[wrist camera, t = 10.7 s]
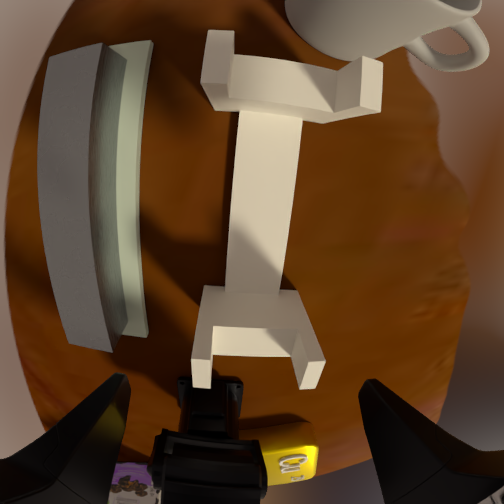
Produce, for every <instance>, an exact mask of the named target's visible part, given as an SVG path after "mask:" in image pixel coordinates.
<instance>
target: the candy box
mask: <svg viewBox="0 0 504 504" xmlns="http://www.w3.org/2000/svg"><path fill="white" fill-rule="evenodd" d="M147 465H148V463H131V462H116V466H115V471H114V475H113V480H112V484H111V489H110V494H109V499H108V504H161V490H156V489H154V488H153V482H152V477H151V476H150V475H149V474H148V473H147Z"/></svg>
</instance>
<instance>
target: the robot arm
mask: <svg viewBox="0 0 504 504" xmlns="http://www.w3.org/2000/svg"><path fill="white" fill-rule="evenodd" d="M181 381H182V382H181ZM238 385H239V386H238ZM177 386H178V393H179V400H180V406H181V415H180V422H179V430H178V432H175V431H169V430H168V429H164V428H162V432H161V435H157V436H155V441H154V447H153V451H152V454H151V457H150V459H149V462H148V465H147V473H148V474H149V475H150V476H151V477H152V482H153V488H154V489H156V490H161V504H260V499H263V498H264V497H265V495H266V492H267V486H268V475H267V469H266V465H265V462H264V458H263V455H262V451H261V447H260V443H259V440H255V439H252V440H239V425H238V418H239V417H240V410H241V403H242V395H243V382H241V381H230V380H212V379H211V387H210V389H208V388H196V387H193V380H192V378H187V377H179V378H178V380H177ZM130 395H131V388H130V384H129V381H128V378H127V375H126V374H122V373H114V374H113V375H112V376H111V377H110V378H108V379H107V380H106V381H105V382H104V383H103V384H101V385H100V386H99V387H98V388H97V389H96V390H95V391H93V392H92V393H91V394H90V395H89V396H88V397H86V398H85V399H84V400H83V401H82V402H81V403H79V404H78V405H77V406H76V407H75V408H74V409H73V410H71V411H70V412H69V413H68V414H67V415H66V416H64V417H63V418H62V419H61V420H60V421H59V422H57V423H56V425H54V426H53V427H52V428H50V429H49V430H48V431H47V432H46V433H44V434H43V435H42V436H41V437H39V438H38V439H36V440H35V441H34V442H32V443H30V444H29V445H27V446H26V447H24V448H23V449H21V450H20V451H18V452H16V453H15V454H13V455H12V456H10V457H7V458H4V459H0V504H108V499H109V494H110V489H111V484H112V480H113V475H114V471H115V466H116V462H117V458H118V454H119V450H120V446H121V442H122V439H123V435H124V431H125V427H126V421H127V414H128V407H129V401H130ZM358 398H359V403H360V409H361V414H362V420H363V425H364V429H365V433H366V436H367V440H368V443H369V447H370V450H371V454H372V457H373V461H374V464H375V468H376V471H377V475H378V479H379V483H380V487H381V490H382V495H383V499H384V503H385V504H504V450H500V451H499V450H498V451H481V450H478V449H475V448H473V447H472V446H470V445H468V444H466V443H464V442H463V441H461V440H459V439H457V438H456V437H454V436H452V435H451V434H449V433H448V432H446V431H445V430H443V429H442V428H441V427H439V426H438V425H437V424H435V423H434V422H432V421H431V420H430V419H428V418H427V417H426V416H424V415H423V414H422V413H420V412H419V411H418V410H416V409H415V408H414V407H412V406H411V405H410V404H408V403H407V402H406V401H404V400H403V399H402V398H400V397H399V396H398V395H397V394H395V393H394V392H393V391H391V390H390V389H389V388H387V387H386V386H385V385H383V384H382V383H381V382H380V381H378V380H377V379H367V380H366V381H365V382H364V384H363V386H362V388H361V389H360V391H359V394H358Z"/></svg>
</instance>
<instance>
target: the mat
mask: <svg viewBox="0 0 504 504" xmlns="http://www.w3.org/2000/svg"><path fill="white" fill-rule="evenodd" d="M153 45H154V44H153V42H152V41H151V40H147V41H138V42H131V43H124V44H118V45H112V46H108V47H110V48H111V49H113V50H114V51H115V52H117V53H118V54H120V55H121V56H122V57H124V58H125V59H127V64H126V70H125V76H124V82H123V89H122V97H121V106H120V115H119V127H118V141H117V165H116V205H117V229H118V244H119V256H120V266H121V275H122V283H123V291H124V298H125V304H126V311H127V317H128V323H127V325H126V327H125V329H124V331H123V333H122V334H123V335H129V336H136V337H143V338H147V336H148V333H149V330H148V323H147V315H146V307H145V298H144V288H143V277H142V265H141V248H140V223H139V176H140V151H141V136H142V123H143V113H144V103H145V95H146V87H147V80H148V73H149V67H150V61H151V55H152V50H153Z"/></svg>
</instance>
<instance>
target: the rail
mask: <svg viewBox="0 0 504 504" xmlns="http://www.w3.org/2000/svg"><path fill="white" fill-rule="evenodd" d="M126 64H127V59H125V58H124V57H122V56H121V55H120V54H118V53H117V52H115V51H114V50H113V49H111V48H110V47H108V46H107V45H105V44H104V43H98V44H94V45H90V46H85V47H82V48H78V49H74V50H71V51H67V52H64V53H61V54H57V55H54V56H51V57H49V61H48V66H47V71H46V76H45V81H44V87H43V94H42V101H41V109H40V119H39V132H38V195H39V209H40V219H41V228H42V235H43V242H44V248H45V254H46V260H47V265H48V270H49V275H50V279H51V284H52V288H53V292H54V296H55V300H56V303H57V307H58V311H59V314H60V317H61V321H62V324H63V327H64V330H65V333H66V336H67V339H68V342H69V343H70V344H75V345H79V346H83V347H88V348H92V349H97V350H102V351H107V352H112V353H113V351H114V349H115V347H116V345H117V343H118V341H119V339H120V337H121V335H122V333H123V331H124V329H125V327H126V325H127V323H128V317H127V311H126V304H125V298H124V291H123V283H122V275H121V266H120V256H119V244H118V229H117V205H116V165H117V141H118V127H119V115H120V106H121V97H122V89H123V82H124V76H125V70H126Z"/></svg>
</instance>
